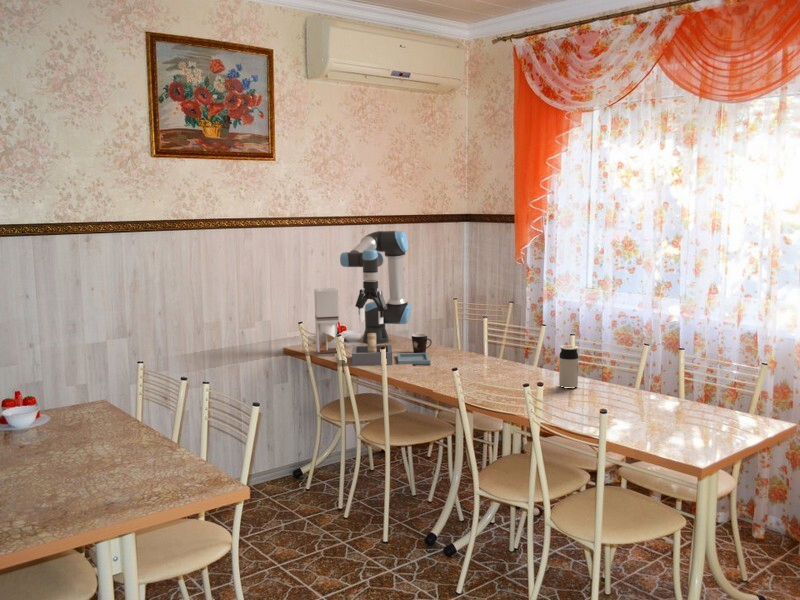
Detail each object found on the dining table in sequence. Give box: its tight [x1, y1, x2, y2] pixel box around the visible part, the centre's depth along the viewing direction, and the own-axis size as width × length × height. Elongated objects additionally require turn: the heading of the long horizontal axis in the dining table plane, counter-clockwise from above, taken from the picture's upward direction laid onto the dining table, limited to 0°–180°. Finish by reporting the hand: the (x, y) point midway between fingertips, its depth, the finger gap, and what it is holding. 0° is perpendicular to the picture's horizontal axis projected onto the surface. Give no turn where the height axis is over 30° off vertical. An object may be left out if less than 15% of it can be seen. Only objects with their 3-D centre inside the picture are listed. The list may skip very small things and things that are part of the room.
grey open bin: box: [351, 344, 393, 367], centre depth 384 cm, size 20×20×7 cm
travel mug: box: [558, 344, 579, 388], centre depth 330 cm, size 8×8×18 cm
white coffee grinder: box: [313, 287, 339, 357], centre depth 405 cm, size 11×11×35 cm
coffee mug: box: [411, 333, 432, 353], centre depth 402 cm, size 12×9×10 cm
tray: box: [396, 352, 431, 367], centre depth 385 cm, size 18×16×2 cm
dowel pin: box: [367, 333, 377, 353], centre depth 383 cm, size 4×4×14 cm
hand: (371, 322), depth 381 cm, fingers open, 13 cm apart
